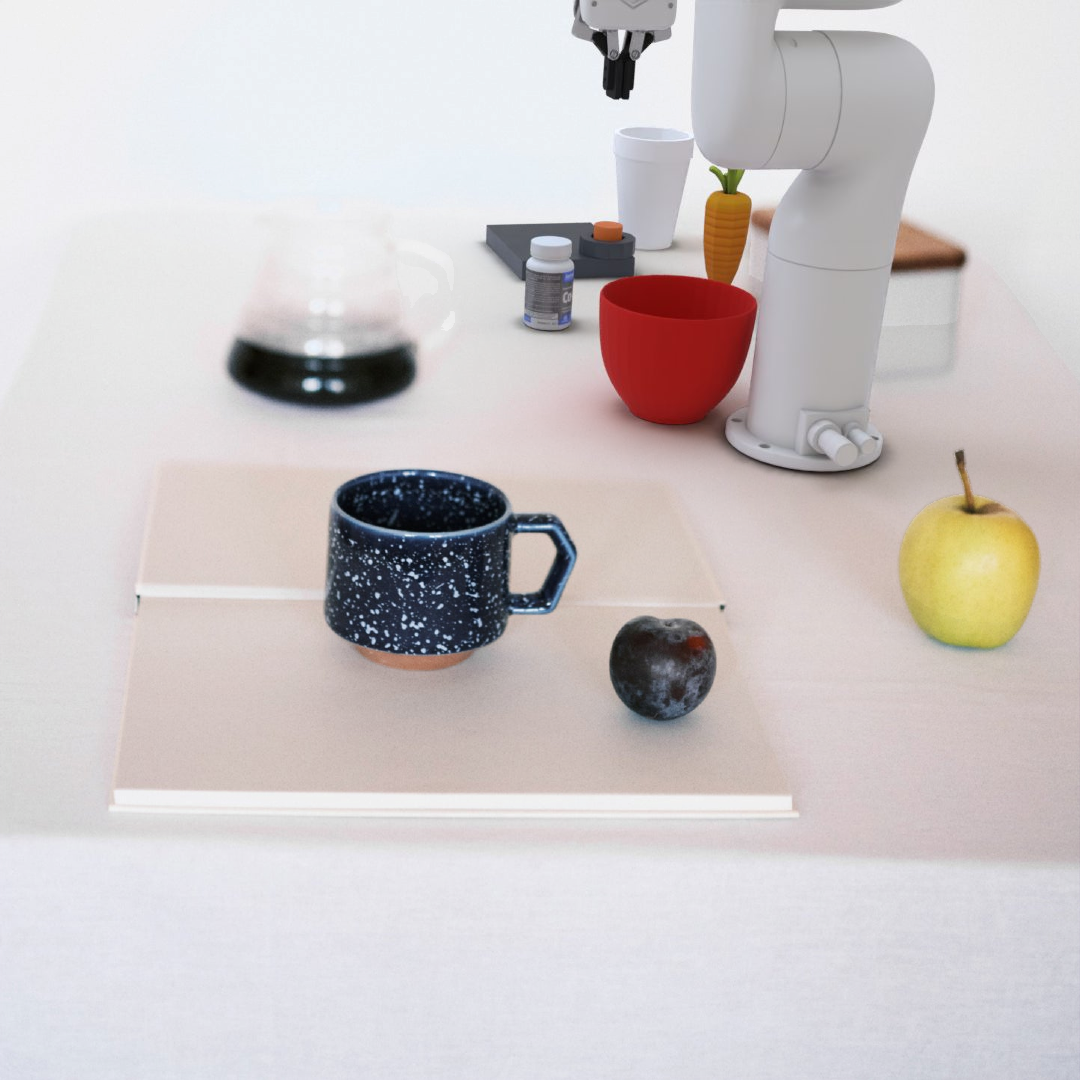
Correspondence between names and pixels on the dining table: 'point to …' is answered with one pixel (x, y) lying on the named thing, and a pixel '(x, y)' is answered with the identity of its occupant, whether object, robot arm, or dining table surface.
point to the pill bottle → (549, 284)
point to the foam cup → (651, 181)
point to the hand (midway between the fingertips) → (617, 97)
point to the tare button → (608, 231)
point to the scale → (586, 251)
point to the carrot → (725, 227)
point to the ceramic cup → (674, 343)
